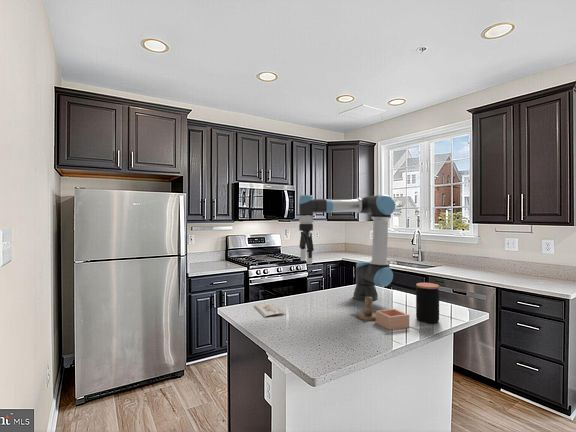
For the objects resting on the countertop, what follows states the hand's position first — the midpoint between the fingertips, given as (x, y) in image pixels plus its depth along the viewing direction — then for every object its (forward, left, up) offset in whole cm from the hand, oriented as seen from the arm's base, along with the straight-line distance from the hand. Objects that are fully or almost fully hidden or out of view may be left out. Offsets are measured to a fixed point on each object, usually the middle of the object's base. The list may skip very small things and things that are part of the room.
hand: (306, 262), depth 183 cm
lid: (-26, +21, -27) cm, 43 cm away
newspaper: (+18, -8, -28) cm, 34 cm away
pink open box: (-30, +35, -27) cm, 53 cm away
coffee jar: (-51, +35, -27) cm, 67 cm away
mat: (-26, +21, -27) cm, 43 cm away
